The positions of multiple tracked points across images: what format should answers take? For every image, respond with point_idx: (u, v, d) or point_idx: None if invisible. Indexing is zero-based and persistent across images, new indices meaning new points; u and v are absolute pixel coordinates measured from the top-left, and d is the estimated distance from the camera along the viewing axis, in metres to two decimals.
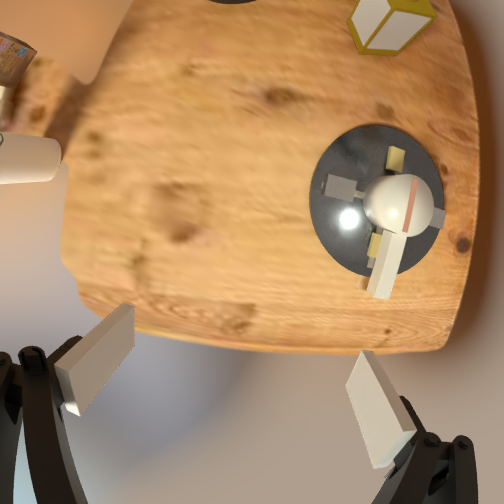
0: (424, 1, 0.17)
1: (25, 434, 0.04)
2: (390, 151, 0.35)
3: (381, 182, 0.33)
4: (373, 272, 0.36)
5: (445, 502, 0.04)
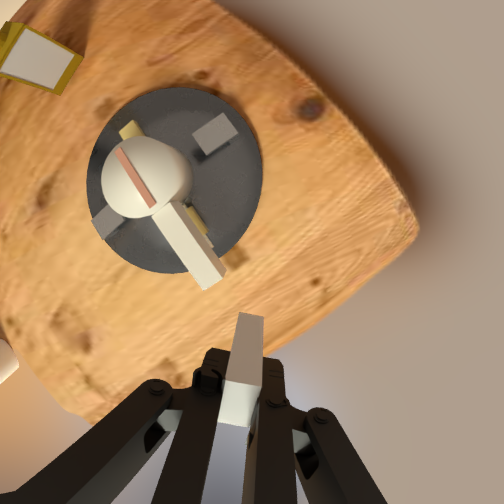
0: (12, 28, 0.13)
1: (171, 448, 0.06)
2: (122, 137, 0.29)
3: None
4: None
5: (329, 489, 0.06)
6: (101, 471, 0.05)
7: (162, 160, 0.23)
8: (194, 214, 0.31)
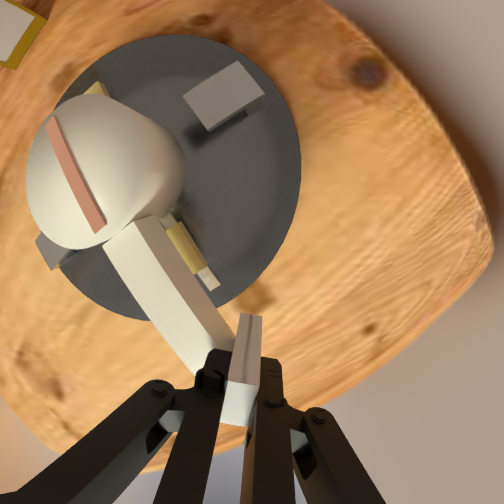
0: None
1: (173, 449, 0.06)
2: None
3: None
4: None
5: (328, 489, 0.06)
6: (103, 472, 0.05)
7: (121, 137, 0.11)
8: (183, 236, 0.18)
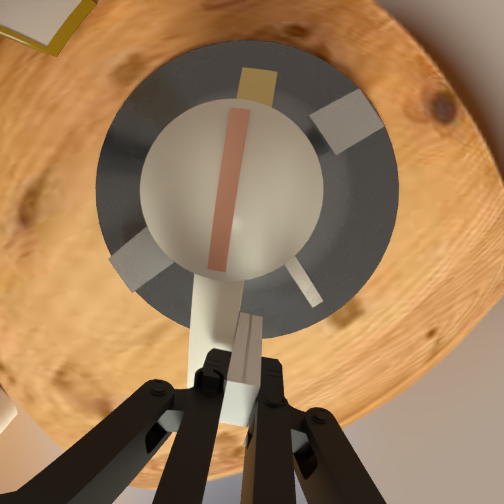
0: None
1: (172, 449, 0.06)
2: (240, 79, 0.16)
3: None
4: None
5: (328, 489, 0.06)
6: (102, 471, 0.05)
7: (300, 214, 0.11)
8: None
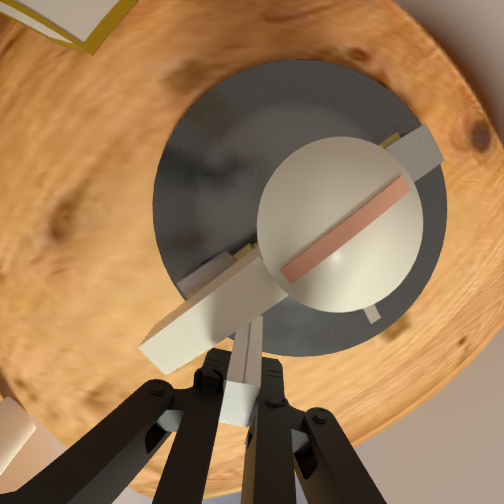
0: None
1: (172, 448, 0.06)
2: (388, 138, 0.16)
3: None
4: (180, 306, 0.16)
5: (329, 489, 0.06)
6: (102, 471, 0.05)
7: (373, 288, 0.12)
8: None
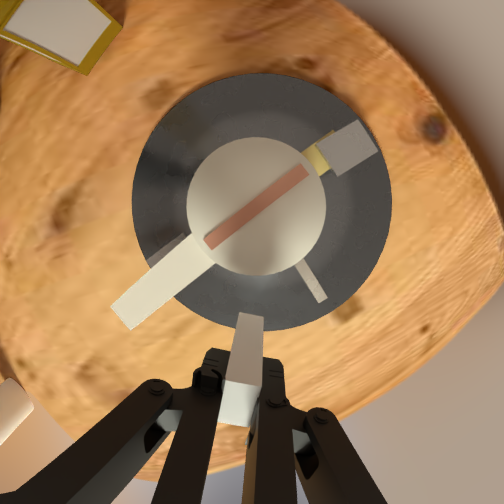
0: None
1: (171, 448, 0.06)
2: (324, 136, 0.20)
3: None
4: None
5: (329, 489, 0.06)
6: (101, 471, 0.05)
7: (281, 256, 0.16)
8: None
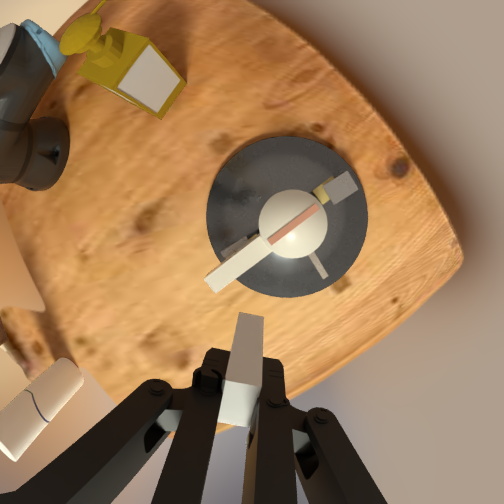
0: (128, 40, 0.21)
1: (171, 448, 0.06)
2: (327, 179, 0.36)
3: None
4: (223, 261, 0.36)
5: (329, 489, 0.06)
6: (101, 471, 0.05)
7: (305, 248, 0.32)
8: None
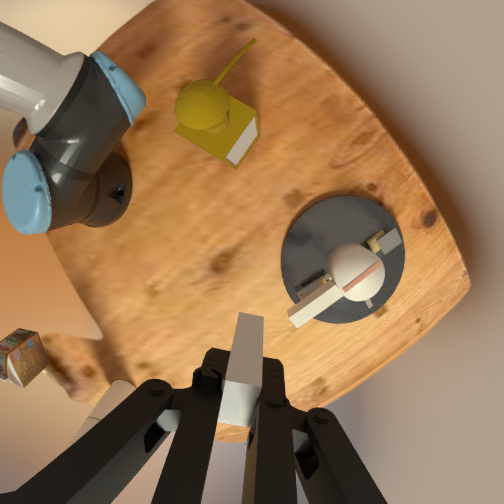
0: (233, 106, 0.29)
1: (171, 448, 0.06)
2: (379, 233, 0.44)
3: (355, 247, 0.42)
4: (301, 301, 0.44)
5: (329, 489, 0.06)
6: (101, 471, 0.05)
7: (368, 293, 0.40)
8: None
